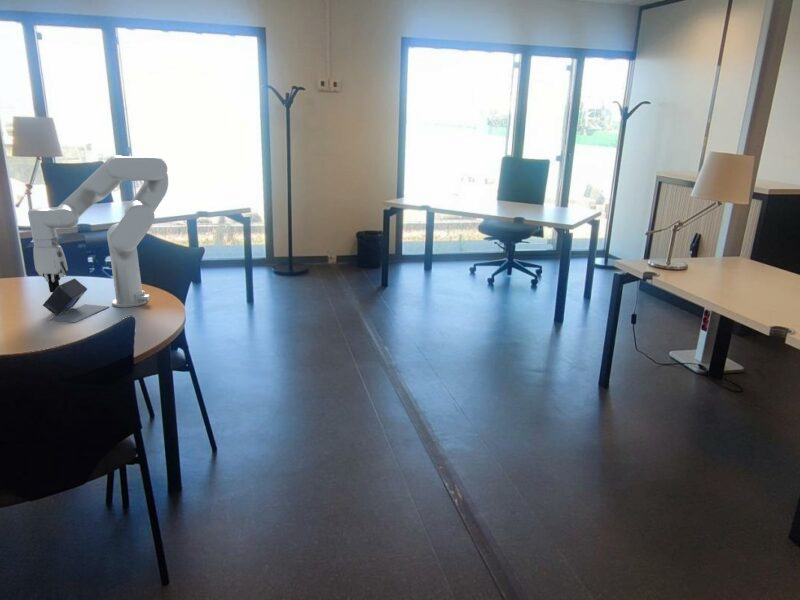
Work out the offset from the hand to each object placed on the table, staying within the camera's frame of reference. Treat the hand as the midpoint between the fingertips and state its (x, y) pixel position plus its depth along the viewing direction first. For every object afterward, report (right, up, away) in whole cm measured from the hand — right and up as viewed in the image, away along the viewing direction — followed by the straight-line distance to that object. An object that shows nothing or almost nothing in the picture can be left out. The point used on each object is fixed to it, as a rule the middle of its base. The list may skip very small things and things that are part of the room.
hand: (55, 291), depth 203 cm
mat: (+9, -8, +1) cm, 12 cm away
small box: (0, -6, +2) cm, 6 cm away
